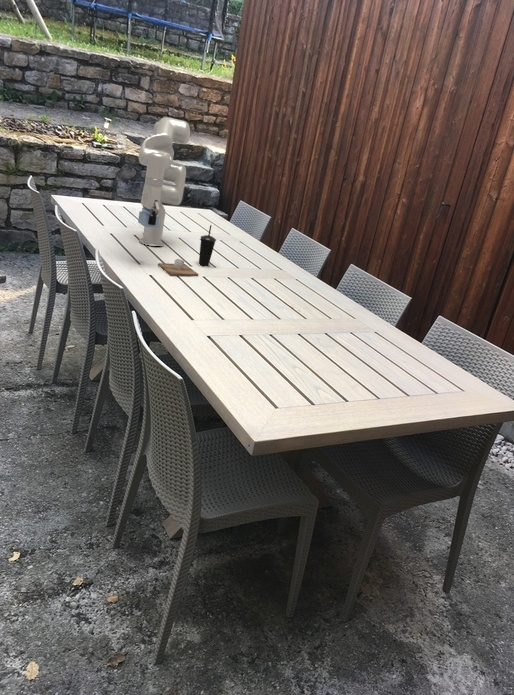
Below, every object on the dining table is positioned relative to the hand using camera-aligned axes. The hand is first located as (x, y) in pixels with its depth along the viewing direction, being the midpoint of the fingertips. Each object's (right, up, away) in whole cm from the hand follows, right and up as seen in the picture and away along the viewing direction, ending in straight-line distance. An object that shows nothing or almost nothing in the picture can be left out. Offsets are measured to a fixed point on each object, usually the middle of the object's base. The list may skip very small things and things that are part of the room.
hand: (148, 222), depth 260 cm
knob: (0, -1, +1) cm, 1 cm away
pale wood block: (+12, -20, +8) cm, 25 cm away
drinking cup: (+22, -16, +27) cm, 38 cm away
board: (+12, -21, +9) cm, 26 cm away
